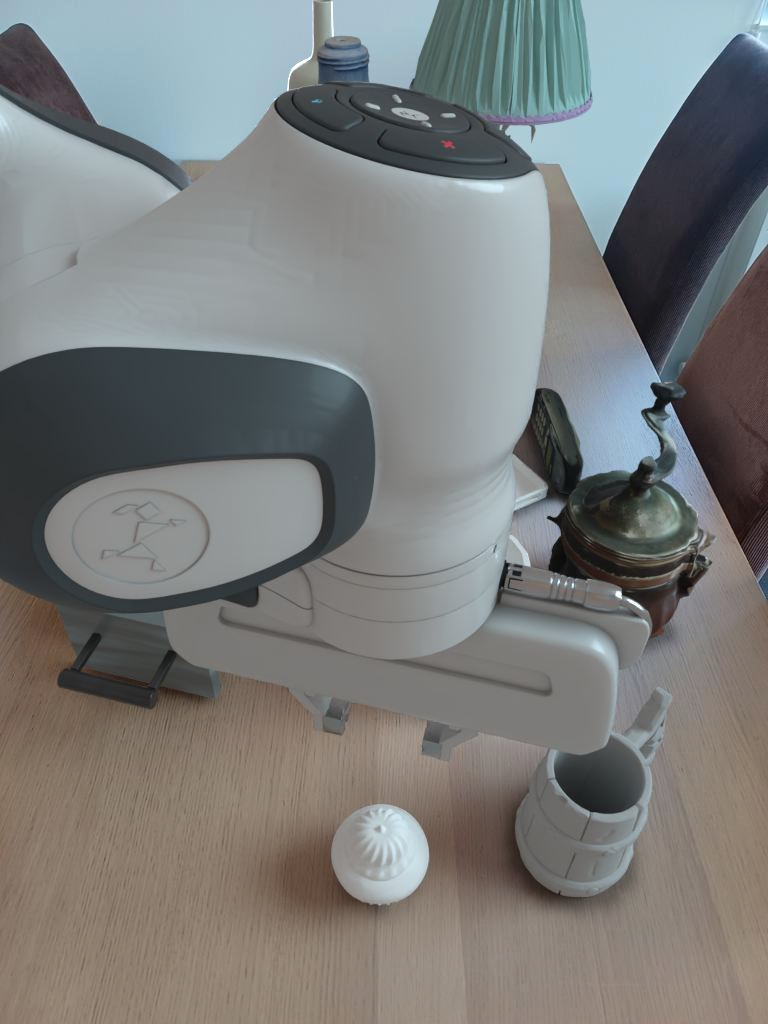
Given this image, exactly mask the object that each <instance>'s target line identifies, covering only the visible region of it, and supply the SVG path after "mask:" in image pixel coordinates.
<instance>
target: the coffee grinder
mask: <svg viewBox="0 0 768 1024" xmlns="http://www.w3.org/2000/svg"><path fill="white" fill-rule="evenodd" d="M649 389H650V390H651V392H652V394H653V396H654V397H655V398H656V399H655V400H654V403H653V406H651V407H646V408H643V409H641V410H640V415H641V417H642V418H643V420H644V421H645V423H646V425H647V427H648V428H649V429H650V430H651V431H652V432H653V433H654V434H655V435H656V438H657V440H658V443H659V448H660V449H659V453H660V454H659V456H658V457H657V458H655V459H654V457H653V456H652V455H647V456H645V457H643V458H642V459H640V461H639V463H638V465H637V468H636V470H634V471H632V472H630V471H627V470H624V469H619V470H617V469H616V470H611V471H608V472H598V473H595V474H593V475H589V476H586V477H584V478H582V479H580V481H579V482H578V483H577V485H576V488H575V490H573V491H572V493H571V495H569V497H568V498H567V501H566V503H565V505H564V506H563V507H562V509H561V510H560V511H559V513H558V515H557V516H552V515H547V516H546V520H548V521H550V522H553V523H554V524H555V525H557V527H558V529H559V532H560V536H558V537H557V539H556V541H555V542H554V544H553V545H552V548H551V549H550V551H551V552H550V558H549V563H548V565H547V568H548V569H547V570H548V571H552V572H553V573H558V574H560V575H564V576H567V577H572V578H574V579H576V578H577V579H582V580H587V579H595V580H601V581H605V582H608V583H611V584H614V585H616V586H619V587H621V589H622V595H623V596H626V597H629V598H631V599H633V600H635V601H636V602H638V603H639V604H640V605H642V606H643V607H644V608H645V609H646V610H647V611H648V613H649V615H650V617H651V620H652V632H651V635H650V637H649V638H651V637H654V636H657V635H662V634H663V633H665V629H664V626H665V625H667V624H668V623H669V622H670V621H671V620H672V618H673V617H674V615H675V612H676V611H677V609H678V607H679V602H680V600H681V599H683V598H687V597H690V596H691V595H692V594H693V593H694V591H695V588H696V587H695V586H696V585H697V584H698V582H699V581H701V579H702V578H703V577H704V576H706V574H707V572H708V571H709V570H710V568H711V567H712V565H713V560H711V559H710V558H709V557H707V556H706V555H704V554H701V553H702V552H703V551H704V550H706V549H707V548H709V547H710V546H712V544H714V543H715V542H716V540H717V535H716V534H714V533H711V532H709V531H708V530H705V529H702V528H700V526H699V525H700V524H699V523H700V521H699V513H698V511H697V510H696V508H695V507H694V506H693V505H692V504H691V503H690V502H689V501H688V500H687V498H686V497H685V496H684V493H681V492H680V491H678V490H677V489H676V488H675V487H674V486H673V485H671V484H669V483H668V482H666V481H664V479H666V478H667V477H669V476H671V474H672V473H673V472H674V471H675V470H676V468H677V464H678V462H679V461H678V460H679V454H678V452H677V448H676V447H677V446H676V443H675V441H674V439H673V437H672V436H671V435H670V434H669V432H668V430H667V429H666V427H665V423H664V422H666V421H667V420H668V419H670V418H671V415H672V414H669V413H668V412H667V411H666V406H668V405H669V404H671V403H672V402H675V401H680V400H681V399H683V398H684V397H685V395H686V394H687V391H686V389H685V388H684V386H682V385H681V384H679V383H677V382H674V381H663V382H658V381H657V382H656V381H653V382H651V383H650V388H649Z"/></svg>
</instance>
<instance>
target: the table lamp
mask: <svg viewBox="0 0 768 1024" xmlns="http://www.w3.org/2000/svg"><path fill="white" fill-rule="evenodd" d="M588 47H589V46H588V38H587V30H586V20H585V16H584V12H583V6H582V0H438V3H437V5H436V8H435V12H434V14H433V18H432V20H431V24H430V26H429V29H428V32H427V34H426V37H425V39H424V42H423V45H422V48H421V50H420V53H419V56H418V58H417V65H416V69H415V70H416V71H415V75H414V77H413V78H412V79H411V82H410V84H409V86H408V89H410V90H415V91H419V92H423V93H427V94H430V95H432V96H433V97H434V98H437V99H440V100H443V101H446V102H449V103H452V104H459V105H461V106H463V107H465V108H467V109H469V110H470V111H472V112H474V113H476V114H477V115H479V116H480V117H482V118H484V119H485V120H487V121H488V122H490V123H491V124H493V125H494V126H496V127H497V128H498V129H500V128H501V129H500V130H501V131H502V132H504V133H505V134H506V131H507V130H508V129H509V127H510V126H529V127H530V144H532V143H533V140H534V137H535V135H536V132H537V131H536V130H537V129H536V126H541V125H542V126H543V125H548V124H555V123H562V122H565V121H570V120H572V119H576V118H578V117H581V116H582V115H584V114H585V113H587V112H588V111H589V110H590V109H591V108H592V104H593V101H594V97H593V91H592V69H591V63H590V55H589V48H588ZM507 136H508V137H510V138H511V134H509V135H507ZM545 188H546V192H547V193H548V188H547V185H546V184H545Z"/></svg>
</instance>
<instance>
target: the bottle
mask: <svg viewBox="0 0 768 1024" xmlns="http://www.w3.org/2000/svg"><path fill="white" fill-rule="evenodd" d="M370 55H371V54H370V53H369V48H368V47H366V46H365V45H364V44H362V41H361V39H360V38H359V37H358V36H357V37H356V36H352V35H333V37H330V38H328V39H325V41H324V45H322V46H321V47H319V48H318V52H317V61H318V84H323V83H324V82H328V81H358V82H370V76H369V64H370Z"/></svg>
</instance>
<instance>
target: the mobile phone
mask: <svg viewBox="0 0 768 1024" xmlns="http://www.w3.org/2000/svg"><path fill="white" fill-rule="evenodd" d="M529 420H530V424H531V427H532V428H533V432H534V434H535V437H536V440H537V444H538V446H539V448H540V451H541V454H542V457H543V463H544V470H545V474H546V475H547V478H548V480H549V482H550V483H551V484H552V485H553V487H554V488H555V490H556V491H557V492H558V493H560V494H565V495H566V494H567V495H569V496H570V495H571V493H572V491H573V490H575V488H576V485H577V483H578V482H579V481H580V480H582V479H581V478H582V474H583V469H584V458H583V455H582V453H581V441H580V438H579V435H578V433H577V431H576V428H575V426H574V424H573V422H572V420H571V418H570V415H569V412H568V410H567V407H566V405H565V403H564V401H563V399H562V396H561V395H560V394H559V393H558V392H557V391H555V390H554V389H552V388H548V387H538V388H537V387H536V390H535V396H534V402H533V406H532V411H531V415H530V417H529Z"/></svg>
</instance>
